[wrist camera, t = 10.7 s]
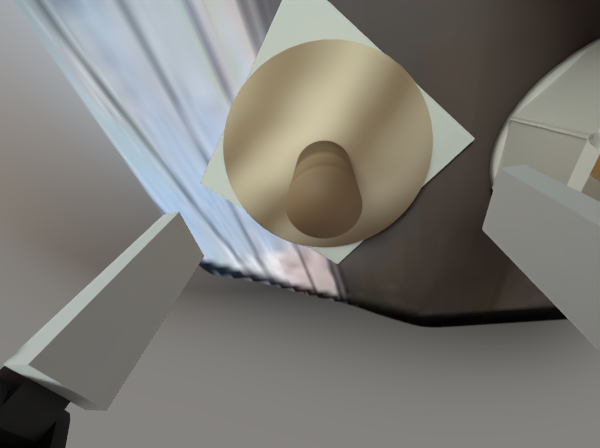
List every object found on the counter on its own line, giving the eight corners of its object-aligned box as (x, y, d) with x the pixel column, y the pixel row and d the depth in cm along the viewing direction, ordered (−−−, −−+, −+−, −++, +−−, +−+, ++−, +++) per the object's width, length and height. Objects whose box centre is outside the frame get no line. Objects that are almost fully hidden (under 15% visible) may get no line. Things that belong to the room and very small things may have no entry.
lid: (199, 183, 20) (148, 230, 14) (296, -28, 12) (271, -119, 6) (337, 264, 23) (342, 327, 18) (474, 139, 16) (561, 177, 10)
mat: (202, 180, 20) (199, 183, 20) (296, -26, 13) (295, -30, 12) (337, 260, 24) (337, 264, 23) (471, 137, 16) (475, 138, 16)
